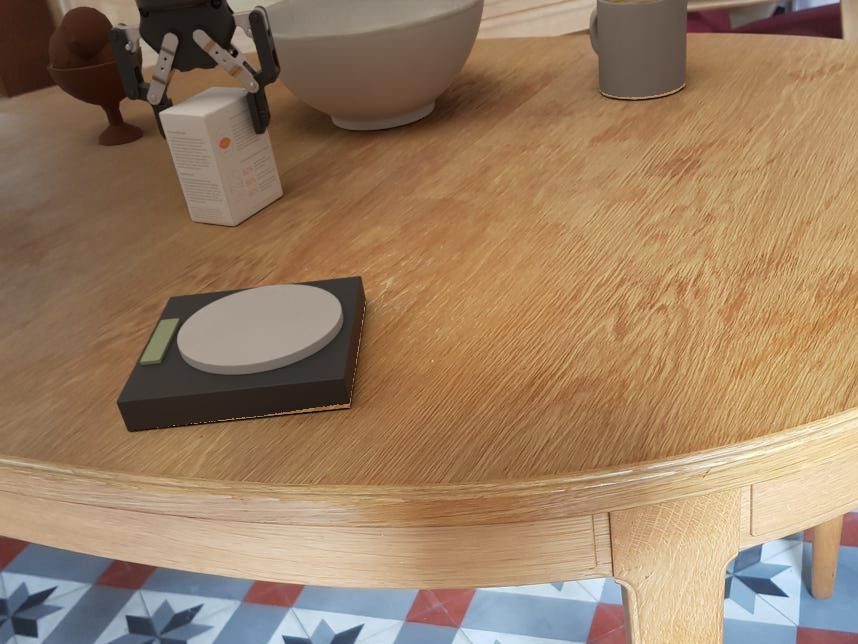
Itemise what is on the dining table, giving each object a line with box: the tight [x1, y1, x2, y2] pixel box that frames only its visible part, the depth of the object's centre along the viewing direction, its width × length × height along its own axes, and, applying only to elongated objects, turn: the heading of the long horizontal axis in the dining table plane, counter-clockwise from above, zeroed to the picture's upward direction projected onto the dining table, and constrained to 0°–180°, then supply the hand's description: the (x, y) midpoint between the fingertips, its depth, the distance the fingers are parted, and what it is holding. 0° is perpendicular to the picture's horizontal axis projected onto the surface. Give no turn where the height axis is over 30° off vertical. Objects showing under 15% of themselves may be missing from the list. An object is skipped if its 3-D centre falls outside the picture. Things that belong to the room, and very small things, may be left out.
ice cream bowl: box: [46, 5, 145, 146], centre depth 113 cm, size 11×11×15 cm
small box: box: [159, 86, 284, 227], centre depth 90 cm, size 8×6×10 cm
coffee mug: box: [588, 0, 688, 98], centre depth 109 cm, size 13×10×10 cm
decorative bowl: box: [251, 0, 485, 131], centre depth 110 cm, size 27×27×12 cm
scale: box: [115, 275, 367, 432], centre depth 67 cm, size 15×15×3 cm
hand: (218, 136), depth 89 cm, fingers closed on small box, 7 cm apart
